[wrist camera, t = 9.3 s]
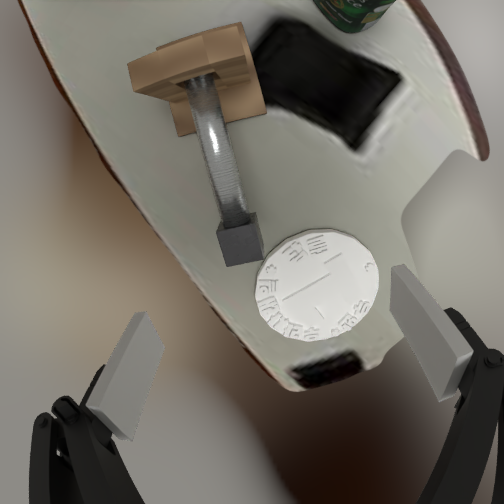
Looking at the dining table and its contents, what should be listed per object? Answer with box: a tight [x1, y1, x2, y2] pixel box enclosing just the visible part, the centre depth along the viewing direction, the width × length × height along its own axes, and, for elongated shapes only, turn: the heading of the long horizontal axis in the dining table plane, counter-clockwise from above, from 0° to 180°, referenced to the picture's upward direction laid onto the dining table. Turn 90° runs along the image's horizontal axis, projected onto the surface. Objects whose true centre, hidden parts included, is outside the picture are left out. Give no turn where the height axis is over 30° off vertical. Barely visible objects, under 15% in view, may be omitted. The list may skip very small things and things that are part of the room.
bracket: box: [127, 22, 267, 137], centre depth 25 cm, size 14×12×15 cm
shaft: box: [183, 72, 264, 267], centre depth 27 cm, size 21×4×4 cm, turn 14°
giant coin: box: [255, 229, 379, 342], centre depth 43 cm, size 20×20×3 cm
